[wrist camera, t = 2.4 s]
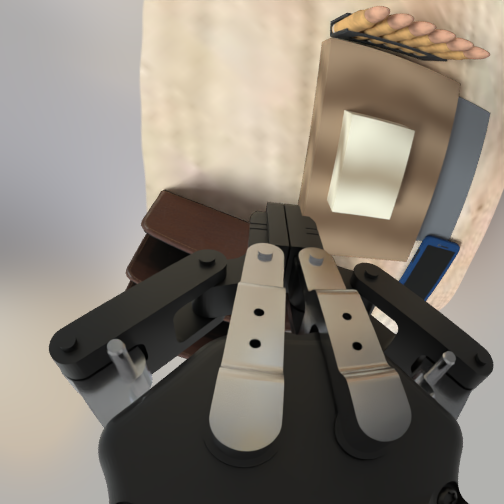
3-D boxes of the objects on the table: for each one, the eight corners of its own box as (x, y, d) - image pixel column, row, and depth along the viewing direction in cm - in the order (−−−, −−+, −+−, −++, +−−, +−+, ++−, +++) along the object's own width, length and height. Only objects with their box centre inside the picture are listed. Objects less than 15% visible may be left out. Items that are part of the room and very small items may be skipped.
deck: (322, 42, 21) (331, 37, 18) (440, 79, 21) (460, 83, 18) (293, 232, 34) (296, 251, 31) (395, 243, 34) (406, 261, 31)
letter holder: (278, 299, 41) (282, 386, 29) (145, 251, 37) (106, 333, 25) (315, 248, 35) (335, 339, 24) (163, 187, 31) (111, 264, 20)
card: (344, 110, 22) (352, 114, 20) (402, 124, 22) (414, 130, 20) (326, 199, 27) (332, 211, 25) (380, 207, 27) (389, 219, 25)
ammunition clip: (329, 37, 21) (374, 17, 11) (330, 21, 20) (374, -7, 10) (423, 60, 21) (496, 69, 11) (424, 45, 19) (497, 48, 10)
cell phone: (382, 305, 41) (383, 309, 40) (426, 233, 33) (428, 236, 32) (416, 309, 42) (417, 312, 41) (459, 243, 33) (462, 246, 33)
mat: (439, 87, 22) (440, 87, 22) (489, 112, 22) (490, 113, 22) (397, 236, 34) (398, 237, 34) (446, 243, 34) (446, 244, 34)
